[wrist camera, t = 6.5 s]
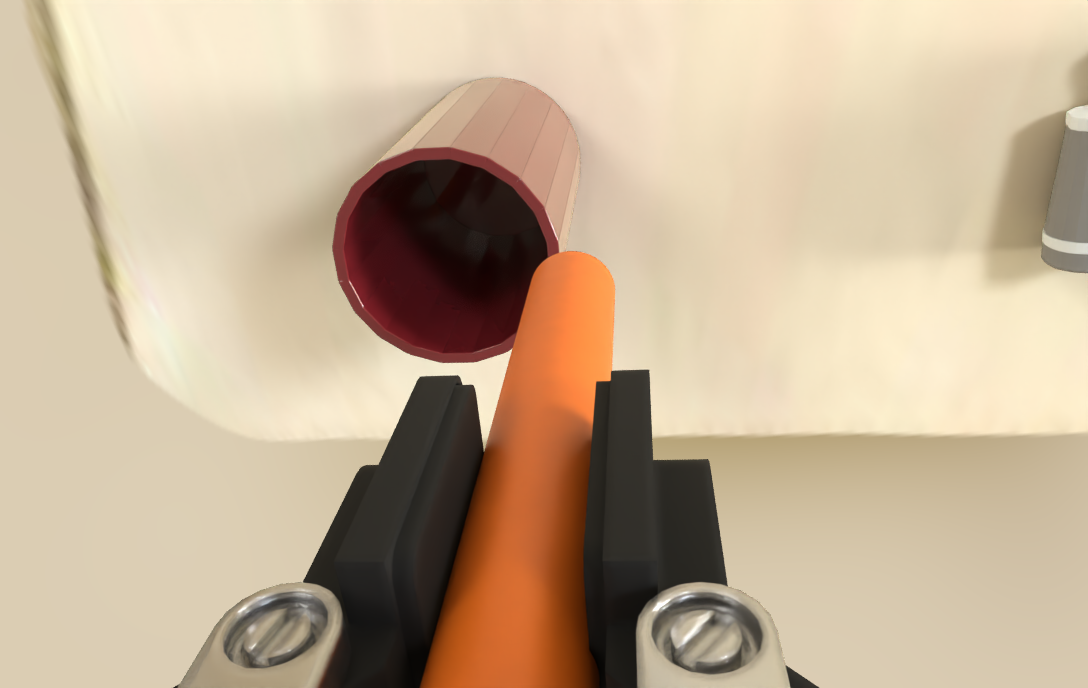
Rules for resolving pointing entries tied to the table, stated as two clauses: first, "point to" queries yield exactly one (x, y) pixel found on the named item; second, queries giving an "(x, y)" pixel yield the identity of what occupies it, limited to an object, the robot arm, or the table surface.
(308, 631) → the robot arm
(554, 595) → the solid orange cylinder
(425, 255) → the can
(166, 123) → the table surface
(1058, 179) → the binoculars
